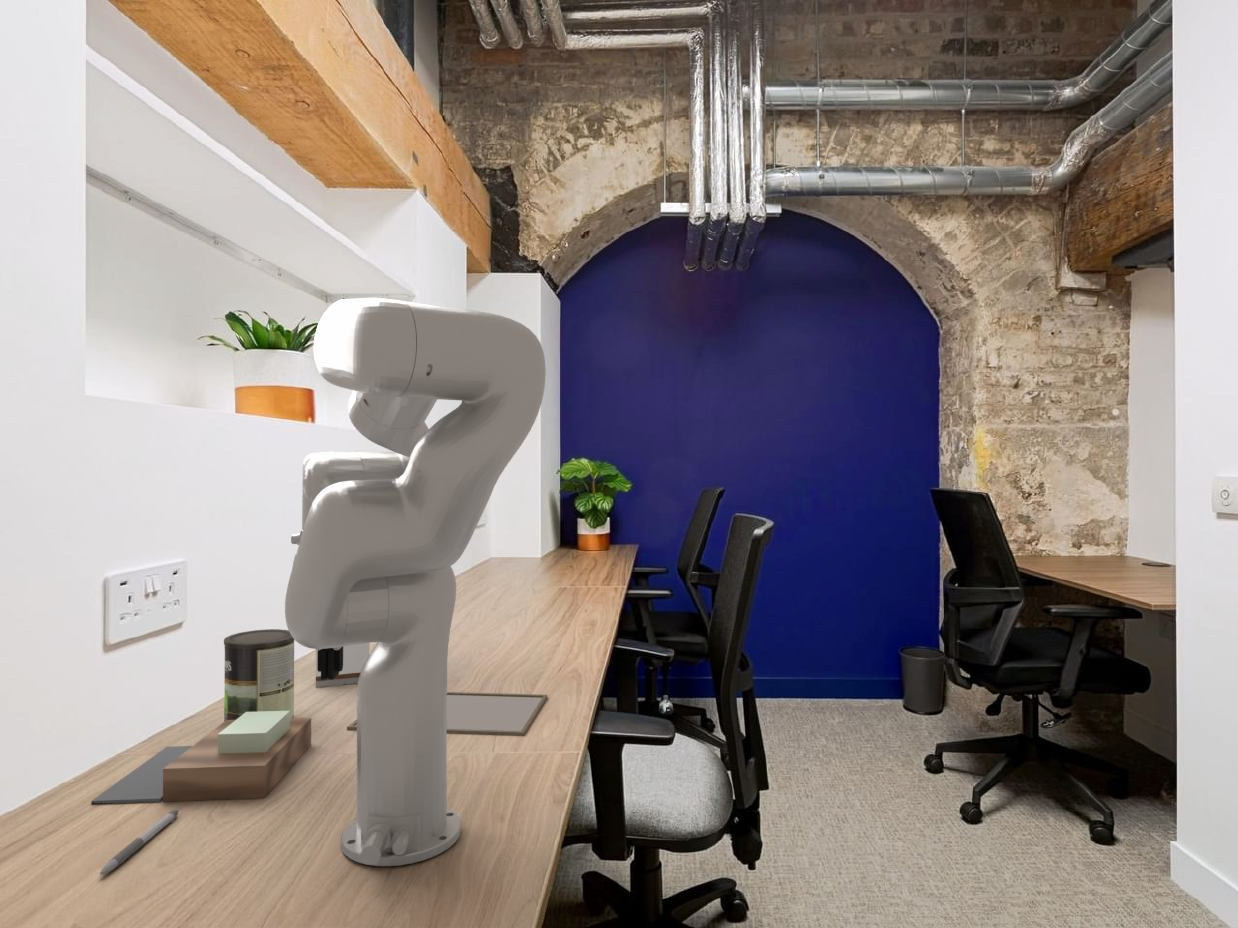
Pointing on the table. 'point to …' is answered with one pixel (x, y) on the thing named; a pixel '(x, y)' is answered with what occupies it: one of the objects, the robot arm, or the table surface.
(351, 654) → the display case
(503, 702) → the picture frame
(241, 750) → the block
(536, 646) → the table surface
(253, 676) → the coffee can
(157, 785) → the mat
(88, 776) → the table surface
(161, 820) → the pen
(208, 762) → the brown wooden flat block
